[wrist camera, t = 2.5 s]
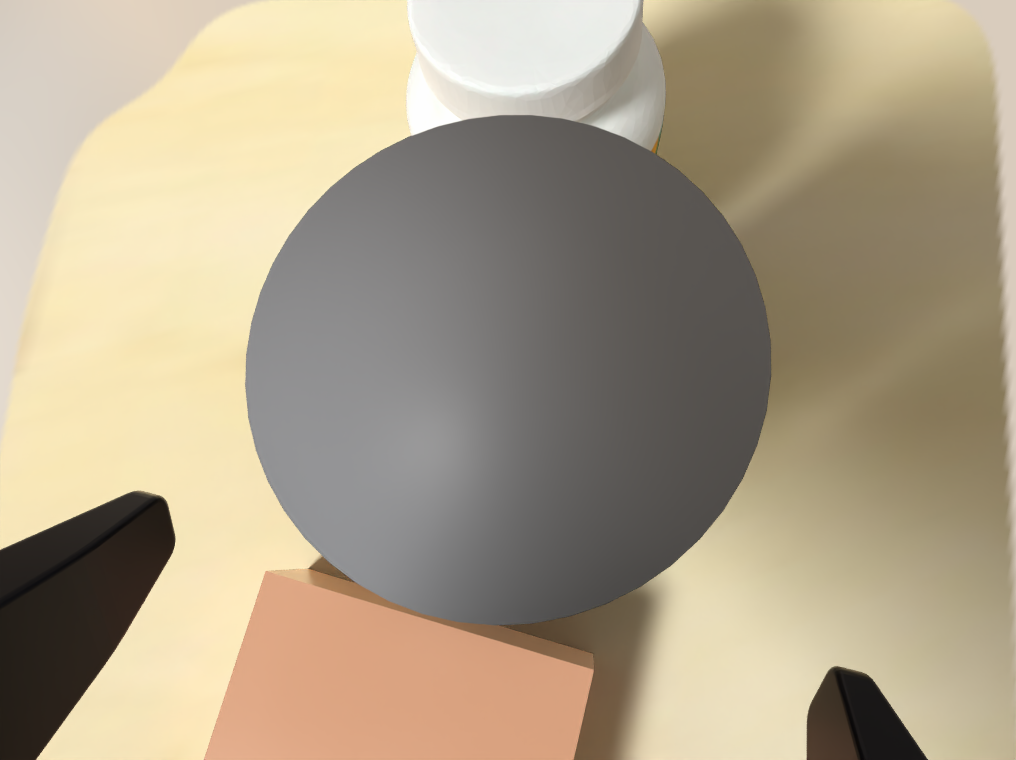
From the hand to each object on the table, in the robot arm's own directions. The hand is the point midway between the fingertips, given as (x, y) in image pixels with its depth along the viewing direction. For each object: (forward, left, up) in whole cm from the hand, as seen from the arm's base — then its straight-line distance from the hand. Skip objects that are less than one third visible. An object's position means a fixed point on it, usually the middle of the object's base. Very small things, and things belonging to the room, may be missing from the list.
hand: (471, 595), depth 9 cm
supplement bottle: (+10, +2, -10) cm, 14 cm away
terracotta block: (-5, +2, -10) cm, 12 cm away
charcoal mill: (+3, 0, -10) cm, 10 cm away
